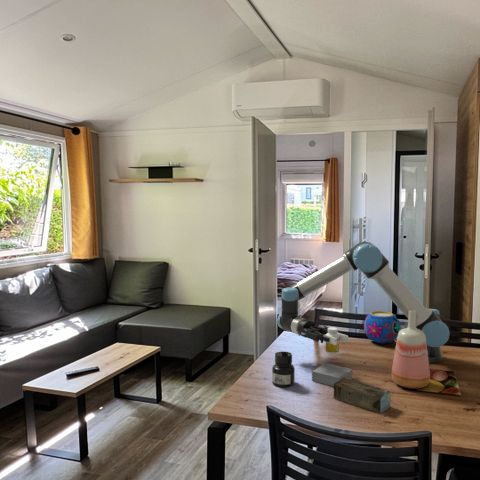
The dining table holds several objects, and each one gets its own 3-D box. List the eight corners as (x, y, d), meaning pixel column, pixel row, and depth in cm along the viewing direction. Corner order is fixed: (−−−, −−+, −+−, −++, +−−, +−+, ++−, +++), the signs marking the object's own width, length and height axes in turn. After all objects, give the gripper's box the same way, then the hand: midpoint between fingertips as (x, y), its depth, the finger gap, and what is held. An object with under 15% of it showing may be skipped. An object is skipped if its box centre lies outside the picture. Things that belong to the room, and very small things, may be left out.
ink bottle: (267, 384, 189) (267, 354, 188) (279, 377, 196) (279, 349, 195) (288, 389, 183) (288, 359, 182) (299, 382, 190) (299, 353, 189)
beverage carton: (380, 414, 162) (381, 396, 161) (332, 399, 175) (332, 381, 174) (391, 407, 167) (391, 389, 167) (343, 392, 180) (343, 375, 180)
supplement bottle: (324, 350, 194) (324, 326, 194) (336, 349, 195) (337, 326, 194) (327, 354, 189) (327, 330, 188) (340, 353, 189) (341, 330, 189)
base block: (352, 378, 194) (352, 369, 194) (339, 387, 184) (339, 377, 184) (325, 372, 201) (325, 363, 201) (312, 380, 192) (312, 371, 191)
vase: (401, 375, 198) (403, 305, 195) (436, 384, 187) (438, 310, 185) (384, 384, 188) (385, 311, 185) (419, 395, 177) (421, 317, 175)
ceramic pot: (399, 348, 233) (400, 318, 231) (362, 345, 238) (362, 316, 237) (399, 339, 249) (400, 311, 248) (364, 336, 255) (365, 308, 254)
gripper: (319, 332, 212) (358, 346, 192) (286, 339, 202) (324, 353, 182) (319, 316, 211) (358, 327, 192) (287, 322, 201) (324, 334, 182)
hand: (341, 340), depth 187 cm, fingers closed on supplement bottle, 5 cm apart
